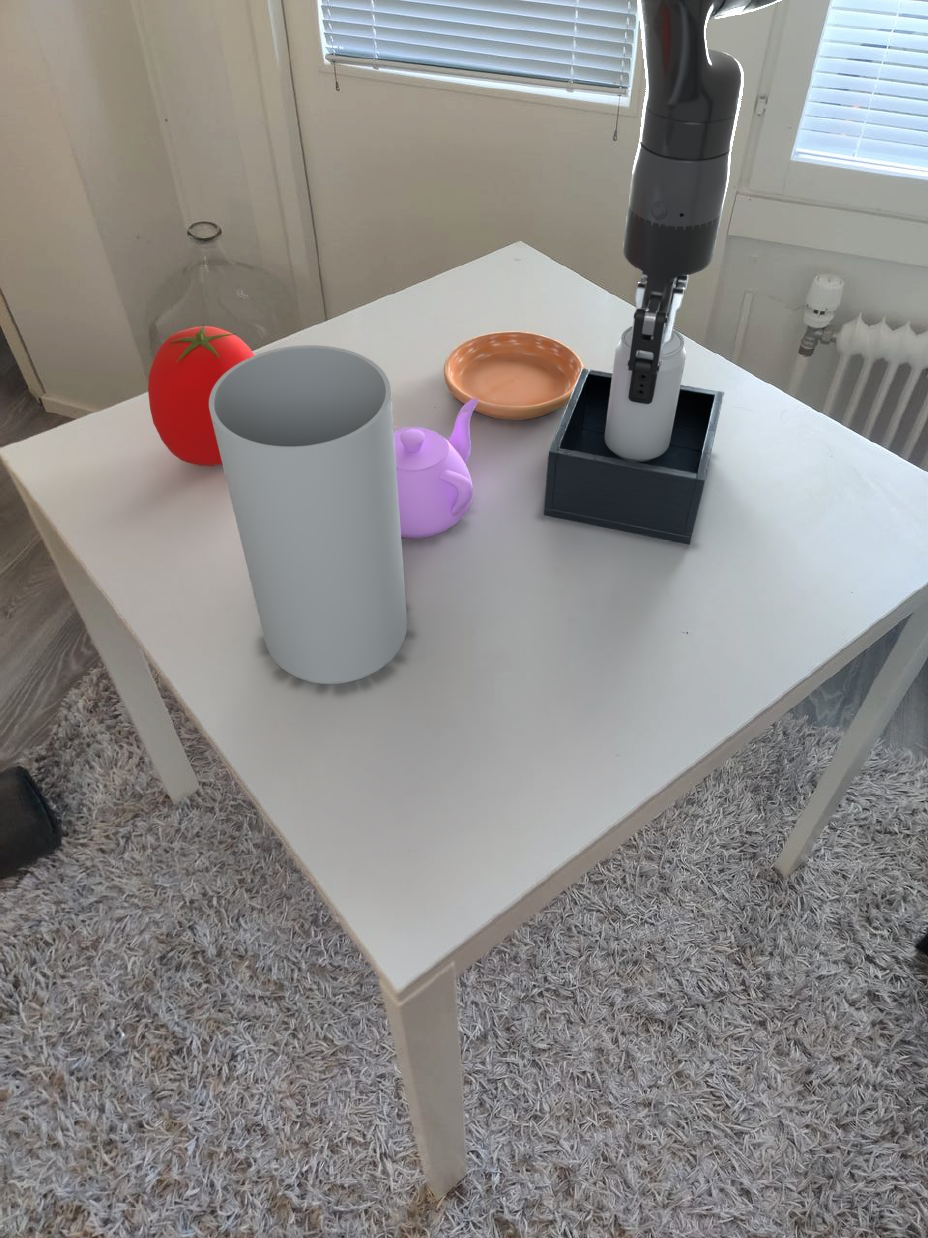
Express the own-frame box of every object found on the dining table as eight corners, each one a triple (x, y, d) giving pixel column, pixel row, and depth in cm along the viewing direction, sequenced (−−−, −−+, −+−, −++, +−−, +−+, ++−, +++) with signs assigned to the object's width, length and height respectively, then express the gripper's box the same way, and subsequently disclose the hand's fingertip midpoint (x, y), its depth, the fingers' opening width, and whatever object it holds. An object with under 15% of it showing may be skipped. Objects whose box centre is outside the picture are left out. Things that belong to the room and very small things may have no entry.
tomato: (204, 500, 96) (171, 380, 86) (143, 451, 101) (105, 333, 91) (301, 446, 102) (282, 328, 92) (239, 403, 108) (214, 286, 97)
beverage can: (676, 436, 95) (697, 328, 86) (657, 473, 91) (677, 364, 82) (615, 420, 97) (630, 313, 88) (594, 456, 93) (607, 347, 84)
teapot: (477, 467, 100) (478, 396, 93) (472, 558, 90) (472, 486, 84) (365, 464, 100) (358, 393, 93) (348, 554, 91) (339, 482, 84)
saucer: (495, 337, 117) (495, 315, 114) (607, 380, 110) (610, 357, 108) (416, 398, 108) (414, 375, 106) (533, 448, 102) (534, 425, 99)
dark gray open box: (709, 455, 101) (724, 391, 95) (689, 545, 91) (705, 480, 86) (575, 431, 104) (582, 367, 98) (543, 515, 94) (548, 451, 88)
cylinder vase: (370, 706, 78) (340, 467, 60) (239, 663, 82) (172, 424, 63) (429, 604, 86) (419, 365, 68) (308, 569, 89) (266, 331, 71)
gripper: (711, 247, 71) (675, 431, 83) (733, 171, 80) (697, 346, 92) (612, 234, 72) (591, 416, 84) (644, 160, 81) (621, 334, 94)
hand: (647, 379), depth 88 cm, fingers closed on beverage can, 6 cm apart
